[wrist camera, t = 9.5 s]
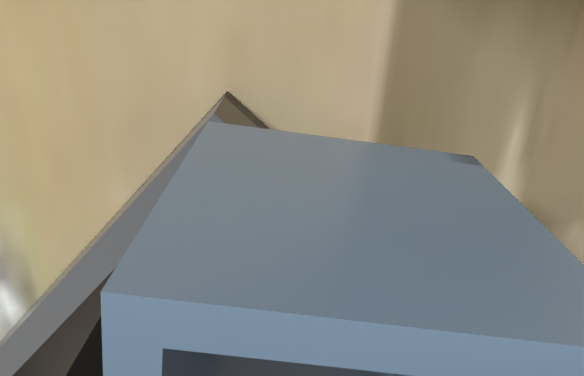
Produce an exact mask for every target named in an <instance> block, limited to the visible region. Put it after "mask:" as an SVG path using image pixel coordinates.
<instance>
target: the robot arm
mask: <svg viewBox="0 0 584 376" xmlns="http://www.w3.org/2000/svg"><path fill="white" fill-rule="evenodd" d="M66 376H103V358H102V325H101V316H100V318H99V320H98V321H97V323H96V325H95V326H94V328H93V330H92V332H91V333H90V335H89V337H88V338H87V340H86V342H85V344H84V345H83V347H82V349H81V350H80V352H79V354H78V356H77V357H76V359H75V361H74V362H73V364H72V366H71V368H70V369H69V371H68V373H67V374H66Z"/></svg>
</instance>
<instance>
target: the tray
mask: <svg viewBox="0 0 584 376" xmlns="http://www.w3.org/2000/svg"><path fill="white" fill-rule="evenodd" d="M208 121H210V122H217V123H225V124H233V125H240V126H248V127H255V128H263V129H268V128H267V127H266V126H265V125H264V124H263V123H262V122H261V121H260V120H258V119H257V118H256V117H255V116H254V115H253V114H252V113H251V112H250V111H249V110H248V109H246V108H245V107H244V106H243V105H242V104H241V103H240V102H239V101H238V100H237V99H235V98H234V97H233V96H232V95H231V94H230V93H229V92H228V91H227V92H226V93H225V94H224V95H223V96H222V98H221V99H220V100H219V101H218V102H217V103H216V104H215V105H214V106H213V107H212V109H211V110H210V111H209V112H208V113H207V114H206V115H205V116H204V117H203V118H202V120H201V121H200V122H199V123H198V124H197V125H196V126H195V127H194V128H193V129H192V131H191V132H190V133H189V134H188V135H187V136H186V137H185V138H184V139H183V141H182V142H181V143H180V144H179V145H178V146H177V147H176V148H175V149H174V150H173V152H172V153H171V154H170V155H169V156H168V157H167V158H166V159H165V160H164V161H163V163H162V164H161V165H160V166H159V167H158V168H157V169H156V170H155V171H154V172H153V174H152V175H151V176H150V177H149V178H148V179H147V180H146V181H145V182H144V184H143V185H142V186H141V187H140V188H139V189H138V190H137V191H136V192H135V193H134V195H133V196H132V197H131V198H130V199H129V200H128V201H127V202H126V203H125V204H124V206H123V207H122V208H121V209H120V210H119V211H118V212H117V213H116V214H115V215H114V217H113V218H112V219H111V220H110V221H109V222H108V223H107V224H106V225H105V226H104V228H103V229H102V230H101V231H100V232H99V233H98V234H97V235H96V236H95V238H94V239H93V240H92V241H91V242H90V243H89V244H88V245H87V246H86V247H85V249H84V250H83V251H82V252H81V253H80V254H79V255H78V256H77V257H76V258H75V260H74V261H73V262H72V263H71V264H70V265H69V266H68V267H67V268H66V269H65V271H64V272H63V273H62V274H61V275H60V276H59V277H58V278H57V279H56V281H55V282H54V283H53V284H52V285H51V286H50V287H49V288H48V289H47V290H46V292H45V293H44V294H43V295H42V296H41V297H40V298H39V299H38V300H37V301H36V303H35V304H34V305H33V306H32V307H31V308H30V309H29V310H28V311H27V312H26V314H25V315H24V316H23V317H22V318H21V319H20V320H19V321H18V322H17V324H16V325H15V326H14V327H13V328H12V329H11V330H10V331H9V332H8V333H7V335H6V336H5V337H4V338H3V339H2V340H1V341H0V376H66V374H67V373H68V371H69V369H70V368H71V366H72V364H73V362H74V361H75V359H76V357H77V356H78V354H79V352H80V350H81V349H82V347H83V345H84V344H85V342H86V340H87V338H88V337H89V335H90V333H91V332H92V330H93V328H94V326H95V325H96V323H97V321H98V320H99V318H100V316H101V290H102V289H103V287H104V285H105V284H106V282H107V281H108V279H109V278H110V276H111V274H112V273H113V271H114V270H115V268H116V266H117V265H118V263H119V262H120V260H121V259H122V257H123V255H124V254H125V252H126V251H127V249H128V247H129V246H130V244H131V243H132V241H133V240H134V238H135V236H136V235H137V233H138V232H139V230H140V228H141V227H142V225H143V224H144V222H145V221H146V219H147V217H148V216H149V214H150V213H151V211H152V209H153V208H154V206H155V205H156V203H157V201H158V200H159V198H160V197H161V195H162V194H163V192H164V190H165V189H166V187H167V186H168V184H169V182H170V181H171V179H172V178H173V176H174V175H175V173H176V171H177V170H178V168H179V167H180V165H181V163H182V162H183V160H184V159H185V157H186V156H187V154H188V152H189V151H190V149H191V148H192V146H193V144H194V143H195V141H196V140H197V138H198V137H199V135H200V133H201V132H202V130H203V129H204V127H205V125H206V124H207V122H208Z"/></svg>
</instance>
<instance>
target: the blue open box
mask: <svg viewBox="0 0 584 376" xmlns="http://www.w3.org/2000/svg"><path fill="white" fill-rule="evenodd" d="M101 325H102V358H103V376H584V265H583V264H582V263H581V262H580V261H579V260H578V259H577V258H576V257H575V256H574V255H573V254H572V253H571V252H570V251H569V250H568V249H567V248H566V247H565V246H564V245H563V244H562V243H561V242H560V241H559V240H558V239H557V238H556V237H555V236H554V235H553V234H552V233H551V232H550V231H549V230H548V229H547V228H546V227H545V226H544V225H543V224H542V223H541V222H540V221H539V220H537V219H536V218H535V217H534V216H533V215H532V214H531V213H530V212H529V211H528V210H527V209H526V208H525V207H524V206H523V205H522V204H521V203H520V202H519V201H518V200H517V199H516V198H515V197H514V196H513V195H512V194H511V193H510V192H509V191H508V190H507V189H506V188H505V187H504V186H503V185H502V184H501V183H500V182H499V181H498V180H497V179H496V178H495V177H494V176H493V175H492V174H491V173H490V172H489V171H488V170H487V169H486V168H485V167H484V166H483V165H482V164H481V163H480V162H479V161H478V160H477V159H476V158H475V157H474V156H468V155H461V154H453V153H446V152H438V151H430V150H423V149H415V148H408V147H400V146H392V145H385V144H377V143H370V142H362V141H354V140H347V139H339V138H331V137H324V136H316V135H309V134H301V133H293V132H286V131H278V130H271V129H263V128H255V127H248V126H240V125H233V124H225V123H217V122H210V121H208V122H207V124H206V125H205V127H204V129H203V130H202V132H201V133H200V135H199V137H198V138H197V140H196V141H195V143H194V144H193V146H192V148H191V149H190V151H189V152H188V154H187V156H186V157H185V159H184V160H183V162H182V163H181V165H180V167H179V168H178V170H177V171H176V173H175V175H174V176H173V178H172V179H171V181H170V182H169V184H168V186H167V187H166V189H165V190H164V192H163V194H162V195H161V197H160V198H159V200H158V201H157V203H156V205H155V206H154V208H153V209H152V211H151V213H150V214H149V216H148V217H147V219H146V221H145V222H144V224H143V225H142V227H141V228H140V230H139V232H138V233H137V235H136V236H135V238H134V240H133V241H132V243H131V244H130V246H129V247H128V249H127V251H126V252H125V254H124V255H123V257H122V259H121V260H120V262H119V263H118V265H117V266H116V268H115V270H114V271H113V273H112V274H111V276H110V278H109V279H108V281H107V282H106V284H105V285H104V287H103V289H102V290H101Z"/></svg>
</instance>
